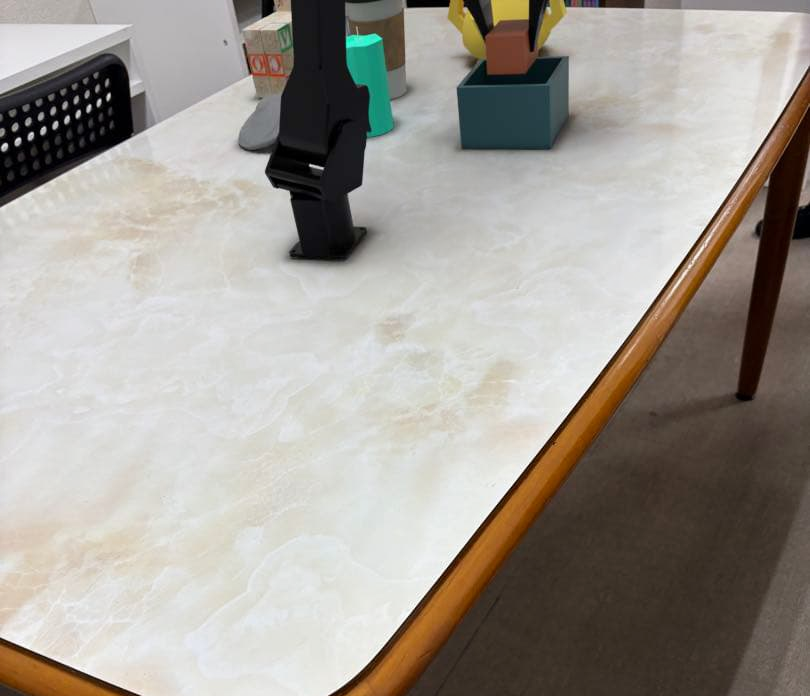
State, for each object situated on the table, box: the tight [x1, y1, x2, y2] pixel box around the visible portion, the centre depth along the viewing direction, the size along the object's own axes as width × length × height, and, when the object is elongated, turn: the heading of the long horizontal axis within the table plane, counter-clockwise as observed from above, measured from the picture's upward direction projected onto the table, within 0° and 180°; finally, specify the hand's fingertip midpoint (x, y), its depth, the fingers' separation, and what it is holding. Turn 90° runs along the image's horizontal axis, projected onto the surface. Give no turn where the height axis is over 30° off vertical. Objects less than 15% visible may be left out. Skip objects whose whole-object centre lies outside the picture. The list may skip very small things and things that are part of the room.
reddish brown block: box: [485, 19, 539, 75], centre depth 99 cm, size 6×4×4 cm
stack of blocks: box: [241, 0, 351, 99], centre depth 129 cm, size 21×6×12 cm, turn 153°
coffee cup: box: [345, 0, 408, 100], centre depth 117 cm, size 8×8×15 cm
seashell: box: [237, 91, 283, 151], centre depth 114 cm, size 12×6×10 cm
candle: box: [346, 27, 395, 138], centre depth 109 cm, size 6×6×12 cm
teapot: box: [447, 0, 568, 65], centre depth 123 cm, size 20×18×11 cm
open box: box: [456, 55, 570, 150], centre depth 103 cm, size 7×11×10 cm
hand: (512, 51), depth 99 cm, fingers closed on reddish brown block, 4 cm apart
